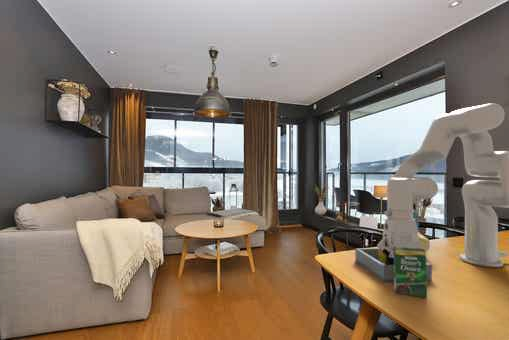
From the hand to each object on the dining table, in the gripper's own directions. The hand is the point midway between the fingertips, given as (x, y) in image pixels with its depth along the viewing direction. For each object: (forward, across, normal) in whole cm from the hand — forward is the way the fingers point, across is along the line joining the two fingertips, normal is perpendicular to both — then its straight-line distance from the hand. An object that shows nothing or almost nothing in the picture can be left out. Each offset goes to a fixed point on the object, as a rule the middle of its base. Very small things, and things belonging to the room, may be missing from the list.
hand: (399, 267), depth 86 cm
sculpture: (+3, +17, +17) cm, 24 cm away
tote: (+3, 0, +5) cm, 6 cm away
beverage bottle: (+3, +26, +29) cm, 39 cm away
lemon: (+2, 0, +8) cm, 8 cm away
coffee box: (+3, -5, -12) cm, 13 cm away
